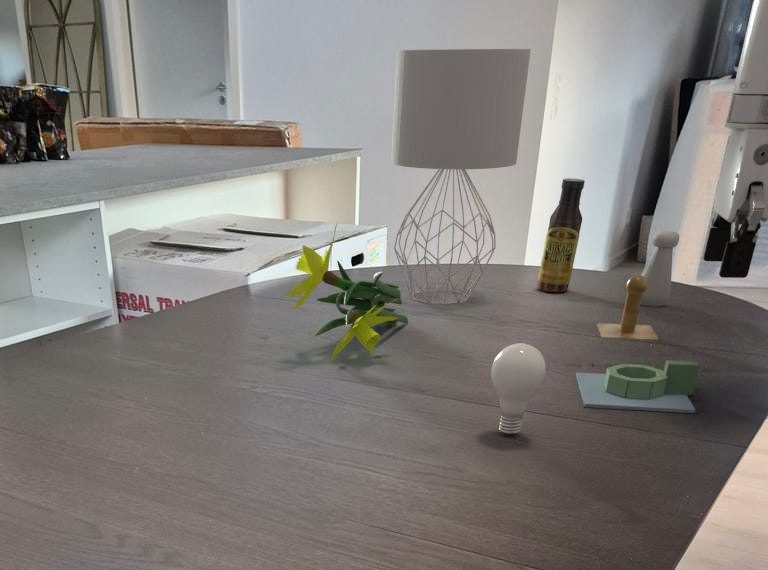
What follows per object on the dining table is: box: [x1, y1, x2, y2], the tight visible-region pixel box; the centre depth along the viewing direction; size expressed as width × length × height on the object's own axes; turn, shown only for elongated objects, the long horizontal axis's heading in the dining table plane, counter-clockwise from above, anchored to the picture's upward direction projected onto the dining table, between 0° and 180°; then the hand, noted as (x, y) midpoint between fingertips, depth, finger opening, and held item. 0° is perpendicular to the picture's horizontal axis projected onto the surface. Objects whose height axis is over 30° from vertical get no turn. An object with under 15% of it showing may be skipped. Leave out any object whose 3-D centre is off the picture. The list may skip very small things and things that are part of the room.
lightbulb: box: [490, 342, 547, 437], centre depth 102 cm, size 6×6×11 cm
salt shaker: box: [640, 230, 680, 308], centre depth 155 cm, size 6×6×13 cm
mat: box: [575, 372, 696, 414], centre depth 118 cm, size 14×14×1 cm
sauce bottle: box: [536, 177, 585, 294], centre depth 165 cm, size 6×6×20 cm
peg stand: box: [596, 274, 660, 341], centre depth 140 cm, size 9×9×10 cm
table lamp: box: [390, 48, 532, 305], centre depth 155 cm, size 22×22×40 cm
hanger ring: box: [604, 359, 701, 399], centre depth 116 cm, size 11×8×4 cm, turn 79°
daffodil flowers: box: [285, 223, 409, 361], centre depth 135 cm, size 17×15×35 cm
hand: (723, 268), depth 109 cm, fingers open, 9 cm apart
